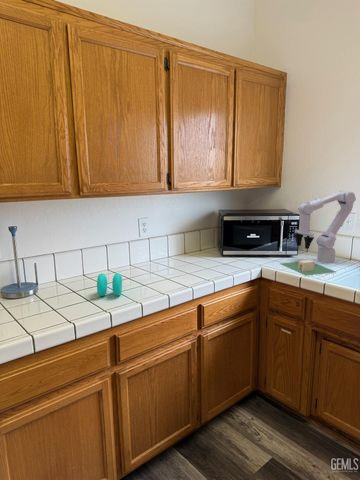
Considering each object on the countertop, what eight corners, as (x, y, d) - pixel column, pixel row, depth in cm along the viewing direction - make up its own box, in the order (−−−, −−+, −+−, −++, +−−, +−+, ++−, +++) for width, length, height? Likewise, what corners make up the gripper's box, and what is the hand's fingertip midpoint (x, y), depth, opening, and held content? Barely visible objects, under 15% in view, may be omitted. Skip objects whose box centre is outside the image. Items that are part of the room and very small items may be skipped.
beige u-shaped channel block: (308, 268, 188) (309, 259, 187) (313, 270, 184) (314, 261, 183) (298, 269, 186) (298, 260, 185) (302, 271, 182) (303, 262, 181)
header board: (307, 261, 204) (308, 256, 203) (337, 273, 182) (337, 267, 181) (279, 264, 198) (279, 259, 198) (305, 276, 176) (306, 271, 175)
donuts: (100, 291, 155) (99, 270, 153) (122, 290, 156) (121, 270, 153) (97, 299, 145) (95, 277, 143) (120, 299, 146) (119, 277, 144)
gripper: (291, 222, 201) (289, 245, 204) (306, 226, 188) (305, 250, 190) (301, 222, 203) (299, 244, 206) (317, 226, 190) (315, 249, 192)
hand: (302, 247), depth 198 cm, fingers open, 7 cm apart
